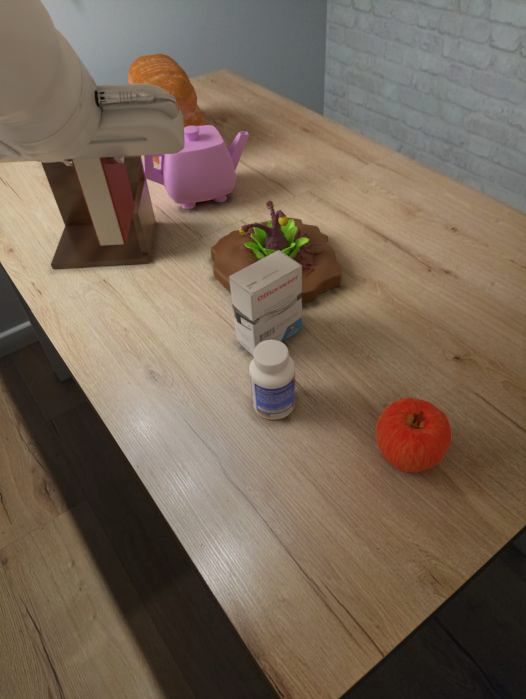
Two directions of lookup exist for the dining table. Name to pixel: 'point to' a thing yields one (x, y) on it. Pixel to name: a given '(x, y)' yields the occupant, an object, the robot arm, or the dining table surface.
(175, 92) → the bread
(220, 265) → the plant
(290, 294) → the ink box
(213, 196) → the teapot
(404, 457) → the apple
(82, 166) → the book
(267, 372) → the pill bottle
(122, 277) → the dining table surface
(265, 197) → the dining table surface
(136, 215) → the book stand
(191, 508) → the dining table surface
